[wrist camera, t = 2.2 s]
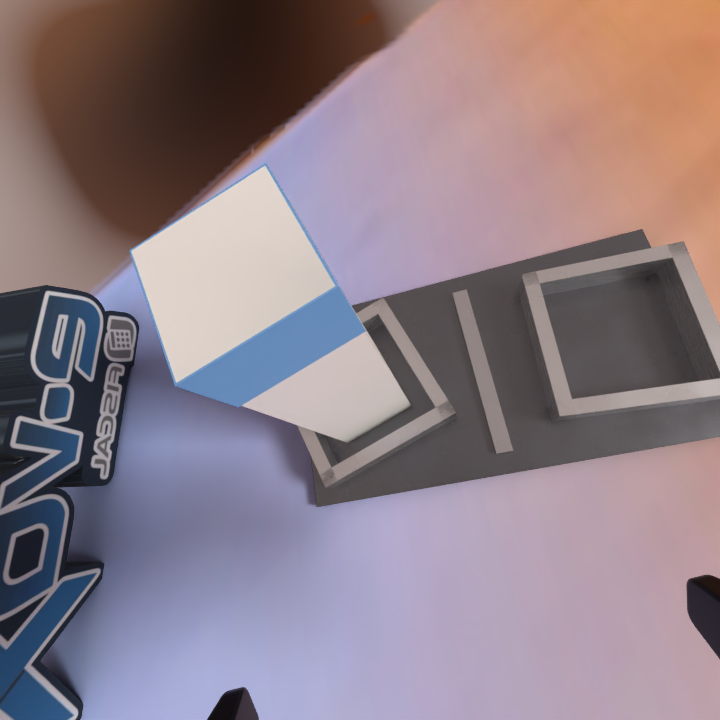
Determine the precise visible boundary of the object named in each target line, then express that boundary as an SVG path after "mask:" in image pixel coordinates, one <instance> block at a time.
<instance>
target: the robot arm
mask: <svg viewBox="0 0 720 720" xmlns="http://www.w3.org/2000/svg"><path fill="white" fill-rule="evenodd" d="M687 610H688V614H689V617H690V619H691V621H692V623H693V624H694V626H695V627H696V628H697V630H698V631H699V632H700V634H701V635H702V636H703V638H704V639H705V640H706V642H707V643H708V644H709V646H710V647H711V648H712V649H713V651H714V652H715V653H716V655H717V656H718V657H719V659H720V579H719V578H717V577H714V576H711V575H703V576H699V577H694V578H691V579H689V580H688V581H687ZM207 720H259V718H258V714H257V712H256V709H255V707H254V704H253V702H252V699H251V697H250V694H249V692H248V690H247V689H246V688H244V687H241V688H237V689H233V690H229V691H227V692H225V693H224V694H223V695H222V697H221V698H220V700H219V701H218V703H217V705H216V706H215V708H214V709H213V711H212V712H211V714H210V716H209V717H208V719H207Z"/></svg>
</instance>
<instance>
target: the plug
mask: <svg viewBox="0 0 720 720" xmlns="http://www.w3.org/2000/svg"><path fill="white" fill-rule="evenodd" d="M130 255H131V258H132V260H133V263H134V266H135V269H136V272H137V275H138V278H139V281H140V284H141V287H142V290H143V293H144V296H145V299H146V302H147V305H148V308H149V311H150V314H151V317H152V320H153V323H154V326H155V329H156V332H157V334H158V337H159V340H160V343H161V346H162V349H163V352H164V355H165V358H166V361H167V364H168V367H169V370H170V373H171V376H172V379H173V382H174V385H175V386H176V387H179V388H182V389H185V390H188V391H191V392H194V393H197V394H200V395H203V396H206V397H209V398H212V399H215V400H218V401H221V402H224V403H227V404H230V405H233V406H235V407H240V406H244V407H246V408H249V409H252V410H255V411H258V412H261V413H264V414H266V415H269V416H272V417H275V418H278V419H281V420H284V421H287V422H289V423H292V424H295V425H298V426H301V427H304V428H307V429H310V430H312V431H315V432H318V433H321V434H324V435H327V436H330V437H332V438H335V439H338V440H341V441H344V442H347V443H349V442H351V441H352V440H354V439H356V438H357V437H359V436H361V435H363V434H364V433H366V432H368V431H370V430H371V429H373V428H375V427H376V426H378V425H380V424H382V423H383V422H385V421H387V420H389V419H390V418H392V417H394V416H395V415H397V414H399V413H401V412H402V411H404V410H406V409H408V408H409V407H411V404H410V403H409V401H408V399H407V397H406V396H405V394H404V392H403V391H402V389H401V387H400V386H399V384H398V382H397V380H396V379H395V377H394V375H393V374H392V372H391V370H390V369H389V367H388V365H387V363H386V362H385V360H384V358H383V357H382V355H381V353H380V352H379V350H378V348H377V347H376V345H375V343H374V342H373V340H372V338H371V337H370V335H369V334H368V332H367V330H366V329H365V327H364V325H363V324H362V322H361V321H360V319H359V317H358V316H357V314H356V312H355V311H354V309H353V308H352V306H351V304H350V303H349V301H348V299H347V298H346V296H345V294H344V293H343V291H342V289H341V288H340V286H339V284H338V282H337V281H336V279H335V277H334V276H333V274H332V272H331V271H330V269H329V267H328V265H327V264H326V262H325V260H324V259H323V257H322V255H321V254H320V252H319V250H318V248H317V247H316V245H315V243H314V242H313V240H312V238H311V237H310V235H309V233H308V231H307V230H306V228H305V226H304V225H303V223H302V221H301V220H300V218H299V216H298V215H297V213H296V212H295V210H294V208H293V207H292V205H291V203H290V202H289V200H288V198H287V197H286V195H285V193H284V192H283V190H282V188H281V187H280V185H279V184H278V182H277V180H276V179H275V177H274V175H273V174H272V172H271V170H270V169H269V167H268V165H267V164H264V165H262V166H261V167H259V168H258V169H256V170H255V171H253V172H251V173H250V174H248V175H247V176H245V177H244V178H242V179H241V180H239V181H237V182H236V183H234V184H233V185H231V186H230V187H228V188H226V189H225V190H223V191H222V192H220V193H219V194H217V195H215V196H214V197H212V198H211V199H209V200H208V201H206V202H204V203H203V204H201V205H200V206H198V207H197V208H195V209H194V210H192V211H190V212H189V213H187V214H186V215H184V216H183V217H181V218H179V219H178V220H176V221H175V222H173V223H172V224H170V225H168V226H167V227H165V228H164V229H162V230H161V231H159V232H158V233H156V234H154V235H153V236H151V237H150V238H148V239H147V240H145V241H143V242H142V243H140V244H139V245H137V246H136V247H134V248H132V249H131V250H130Z"/></svg>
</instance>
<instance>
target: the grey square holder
mask: <svg viewBox="0 0 720 720" xmlns="http://www.w3.org/2000/svg"><path fill="white" fill-rule="evenodd" d="M653 274H657V275H658V278H659V281H660V283H661V286H662V288H663V291H664V293H665V296H666V298H667V301H668V303H669V306H670V309H671V311H672V314H673V316H674V319H675V321H676V324H677V326H678V329H679V332H680V334H681V337H682V339H683V342H684V344H685V347H686V349H687V352H688V354H689V357H690V360H691V362H692V365H693V367H694V370H695V372H696V375H697V377H698V380H699V381H697V382H690V383H683V384H676V385H669V386H662V387H655V388H648V389H640V390H633V391H626V392H619V393H612V394H605V395H598V396H591V397H584V398H576V399H572V397H571V394H570V390H569V387H568V383H567V379H566V376H565V372H564V369H563V365H562V362H561V358H560V354H559V351H558V347H557V344H556V340H555V337H554V333H553V330H552V326H551V322H550V319H549V315H548V312H547V308H546V305H545V301H544V298H543V295H548V294H553V293H559V292H564V291H569V290H574V289H580V288H585V287H590V286H595V285H601V284H606V283H611V282H616V281H622V280H627V279H632V278H637V277H643V276H648V275H653ZM518 292H519V296H520V300H521V304H522V308H523V311H524V315H525V319H526V323H527V327H528V331H529V334H530V338H531V342H532V346H533V350H534V354H535V358H536V361H537V365H538V369H539V373H540V377H541V381H542V385H543V388H544V392H545V396H546V400H547V404H548V408H549V412H550V415H551V419H552V421H559V420H567V419H575V418H582V417H590V416H597V415H605V414H613V413H620V412H628V411H635V410H643V409H651V408H658V407H666V406H673V405H681V404H689V403H696V402H704V401H711V400H719V399H720V325H719V322H718V320H717V318H716V315H715V313H714V311H713V308H712V306H711V304H710V301H709V299H708V297H707V294H706V292H705V290H704V287H703V285H702V283H701V280H700V278H699V276H698V274H697V271H696V269H695V267H694V264H693V262H692V260H691V257H690V255H689V253H688V250H687V248H686V246H685V243H684V241H683V242H679V243H674V244H669V245H664V246H659V247H654V248H649V249H644V250H639V251H634V252H629V253H624V254H619V255H614V256H609V257H604V258H600V259H595V260H590V261H585V262H580V263H575V264H570V265H565V266H560V267H555V268H550V269H545V270H540V271H535V272H530V273H525V274H522V275H521V279H520V282H519V285H518Z"/></svg>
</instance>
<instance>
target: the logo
mask: <svg viewBox="0 0 720 720" xmlns="http://www.w3.org/2000/svg"><path fill="white" fill-rule="evenodd" d="M138 332H139V325H138V323H137V321H136V319H135V318H134V317H133V316H132V315H130V314H128V313H124V312H117V311H105V310H104V308H103V306H102V304H101V303H100V302H99V301H98V300H97V299H96V298H95V297H94V296H93V295H91V294H89V293H86V292H82V291H78V290H73V289H67V288H60V287H54V286H48V285H45V286H39V287H34V288H28V289H23V290H17V291H11V292H5V293H0V720H80V719H81V716H82V710H83V704H82V702H81V701H80V700H79V699H78V698H77V697H76V696H75V695H74V694H73V693H72V692H71V691H70V690H69V689H68V688H67V687H66V686H65V685H64V684H63V683H62V682H61V681H60V680H59V679H58V678H57V677H56V676H55V675H54V674H53V673H52V672H51V671H50V670H49V669H48V668H47V667H45V666H44V665H43V664H42V663H41V662H40V660H41V658H42V657H43V656H44V654H45V653H46V652H47V651H48V649H49V648H50V647H51V646H52V644H53V643H54V642H55V640H56V639H57V638H58V636H59V635H60V634H61V632H62V631H63V630H64V628H65V627H66V626H67V624H68V623H69V622H70V620H71V619H72V618H73V616H74V615H75V614H76V612H77V611H78V610H79V608H80V607H81V606H82V604H83V603H84V602H85V600H86V599H87V598H88V597H89V595H90V594H91V593H92V591H93V590H94V589H95V587H96V586H97V585H98V583H99V582H100V580H101V579H102V575H103V568H104V564H103V563H101V562H66V559H67V554H68V548H69V542H70V536H71V531H72V525H73V519H74V505H73V502H72V500H71V498H70V496H69V495H68V494H67V492H65V491H63V490H61V489H58V488H56V487H81V486H103V485H106V484H108V483H109V482H110V481H111V479H112V477H113V473H114V467H115V459H116V453H117V446H118V440H119V433H120V426H121V420H122V413H123V406H124V400H125V393H126V387H127V380H128V373H129V367H130V366H131V365H134V359H135V352H136V346H137V339H138Z"/></svg>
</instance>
